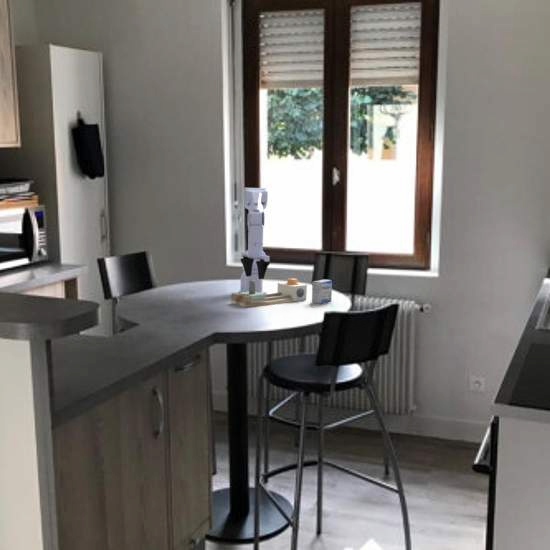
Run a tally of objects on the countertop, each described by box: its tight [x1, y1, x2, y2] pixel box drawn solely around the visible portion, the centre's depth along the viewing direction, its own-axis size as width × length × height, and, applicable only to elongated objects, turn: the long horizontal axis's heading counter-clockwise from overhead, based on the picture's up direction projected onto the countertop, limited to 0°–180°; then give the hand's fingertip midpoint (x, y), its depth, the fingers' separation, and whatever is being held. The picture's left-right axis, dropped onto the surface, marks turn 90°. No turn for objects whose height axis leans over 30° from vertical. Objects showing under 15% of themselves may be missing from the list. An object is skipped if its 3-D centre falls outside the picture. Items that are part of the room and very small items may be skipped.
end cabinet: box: [276, 281, 308, 302], centre depth 304 cm, size 10×7×6 cm
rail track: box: [231, 292, 294, 308], centre depth 295 cm, size 10×23×4 cm, turn 129°
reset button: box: [286, 277, 298, 285], centre depth 304 cm, size 4×4×6 cm
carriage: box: [238, 280, 267, 300], centre depth 291 cm, size 8×7×7 cm
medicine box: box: [311, 279, 333, 305], centre depth 298 cm, size 8×4×9 cm, turn 143°
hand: (254, 277), depth 290 cm, fingers open, 7 cm apart
